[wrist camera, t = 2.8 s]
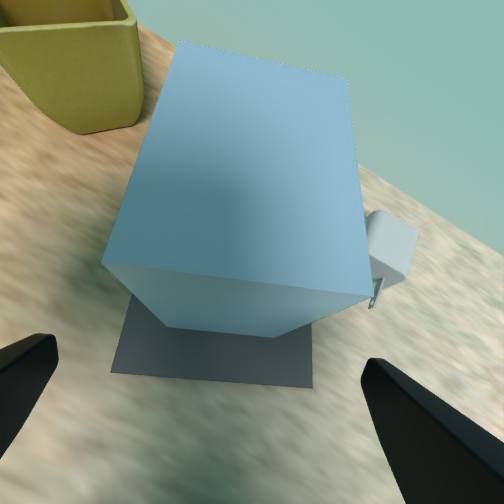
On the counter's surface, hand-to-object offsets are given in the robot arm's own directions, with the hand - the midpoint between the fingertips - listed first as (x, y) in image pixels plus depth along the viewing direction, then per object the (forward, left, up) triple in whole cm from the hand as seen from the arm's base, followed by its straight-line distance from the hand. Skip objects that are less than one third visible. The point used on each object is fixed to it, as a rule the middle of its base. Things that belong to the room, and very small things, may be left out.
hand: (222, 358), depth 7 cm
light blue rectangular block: (+7, 0, -10) cm, 13 cm away
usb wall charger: (+8, -11, -11) cm, 18 cm away
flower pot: (+21, +14, -11) cm, 27 cm away
